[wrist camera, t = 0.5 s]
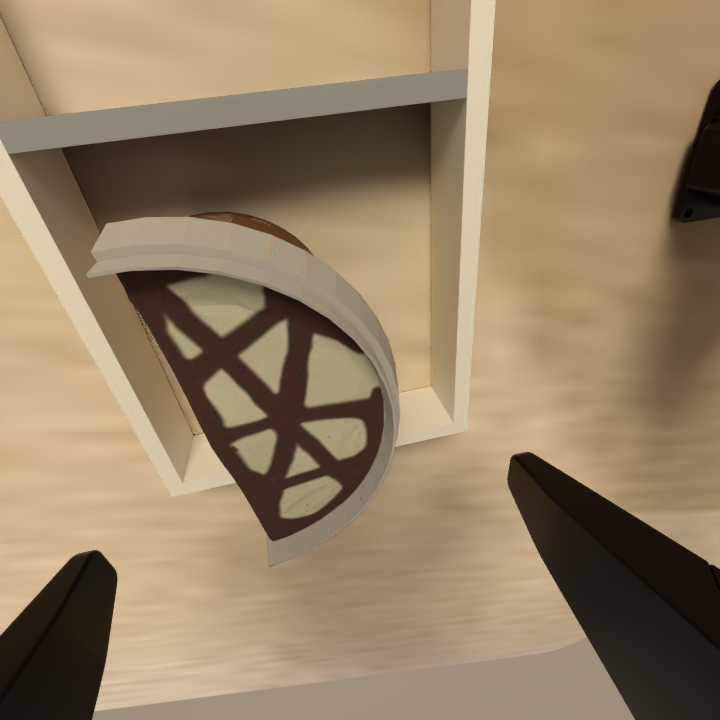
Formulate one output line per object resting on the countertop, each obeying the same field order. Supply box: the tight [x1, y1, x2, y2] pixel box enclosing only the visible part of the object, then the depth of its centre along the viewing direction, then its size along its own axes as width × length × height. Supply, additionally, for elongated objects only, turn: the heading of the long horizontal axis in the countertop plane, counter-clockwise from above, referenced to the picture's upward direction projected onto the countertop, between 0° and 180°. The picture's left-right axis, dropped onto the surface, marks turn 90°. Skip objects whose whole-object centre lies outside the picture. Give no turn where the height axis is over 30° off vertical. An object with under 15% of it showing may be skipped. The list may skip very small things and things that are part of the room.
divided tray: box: [0, 0, 496, 497], centre depth 14 cm, size 16×32×4 cm, turn 6°
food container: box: [86, 212, 400, 567], centre depth 15 cm, size 12×6×10 cm, turn 12°
